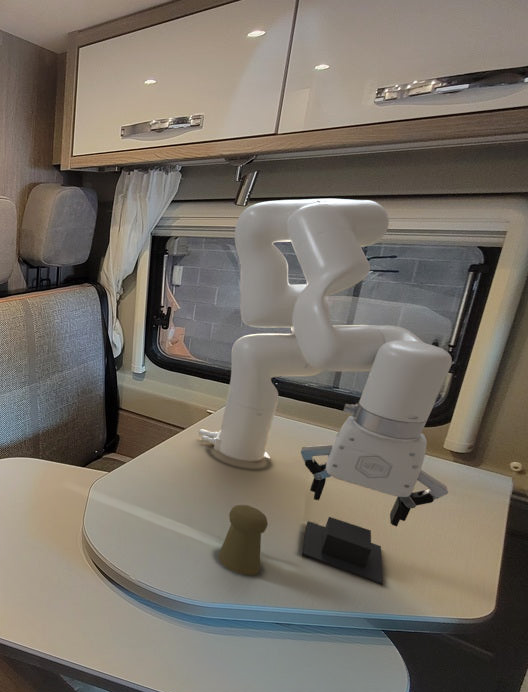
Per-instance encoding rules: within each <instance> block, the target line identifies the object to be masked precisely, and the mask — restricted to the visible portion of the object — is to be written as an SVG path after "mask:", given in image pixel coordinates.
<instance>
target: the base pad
mask: <svg viewBox="0 0 528 692" xmlns="http://www.w3.org/2000/svg"><path fill="white" fill-rule="evenodd" d="M324 529H325V526H324V525H320V524H318V523H314V522H312V521H309V520H308V521H307V522H306V525H305V532H304V539H303V546H302V553H301V556H302V557H304V558H306V559H309V560H311V561H314V562H318V563H320V564H322V565H325V566H328V567H330V568H333V569H337V570H339V571H342V572H344V573H346V574H347V573H348V574H350V575H353V576H355V577H357V578H358V577H359V578H361V579H363V580H367V581H369V582H372V583H374V584H377V585H380V586H382V585H383V566H382V565H383V563H382V546H381V545H379V544H376V543H373V542H371V552H370V555H369V557H368V560H367V562H366V565H365V567H364V568H362V567H360V566H357V565H354V564H351V563H349V562H346V561H343V560H341V559H338V558H335V557H333V556H330V555H327V554H325V553H322V552H321V549H322V539H323V532H324Z"/></svg>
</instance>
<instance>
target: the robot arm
mask: <svg viewBox="0 0 528 692" xmlns="http://www.w3.org/2000/svg"><path fill="white" fill-rule="evenodd" d="M389 222H390V220H389V214H388V212H387V211H386V208H385V207H384V206H383V205H382V204H380V203H378V202H376V201H374V200H371V199H349V198H347V199H346V198H308V199H307V198H306V199H305V198H303V199H280V200H268V201H262V202H258V203H254V204H252V205H250V206H247V207H246V208H245V209H244V210H242V212H241V213H240V214H239V216H238V219H237V221H236V224H235V228H234V244H235V249H236V253H237V257H238V260H239V266H240V287H239V289H240V292H239V300H240V301H239V308H240V309H239V310H240V312H239V313H240V319H241V321H242V322H243V324H245V325H246V326H249V327H252V328H260V329H261V328H264V329H265V328H267V329H268V328H269V329H270V328H271V329H274V328H281V329H283V328H286V329H287V328H289V329H291V333H254V334H248V335H243V336H242V337H240V338H238V339H237V340H235V342H233V345H232V347H231V357H230V358H231V359H230V360H231V371H230V381H229V385H228V392H227V398H226V402H225V406H224V407H225V408H224V410H223V411H224V412H223V416H222V421H221V425H220V430H219V431H213V432H212V431H210V430H207V429H202V428H200V429H199V430H198V436H197V437H201V442H205V443H209V444H211V445H213V450H214V451H218V452H219V453H221V454H222V455H224V456H227V457H229V458H231V459H235V460H238V461H241V462H242V461H243V462H250V463H254V462H260V461H262V460H263V459H264V458H268V459H271V456H270V455H269V453H268V452H267V451H266V450H267V446H268V442H269V437H270V433H271V429H272V426H273V421H274V419H275V414H276V410H277V406H278V402H279V391H278V389H277V388H276V386H275V385H274V383H273V382H272V378H279V377H280V378H281V377H312V376H313V377H314V376H316V375H319V374H321V373H322V372H323V371H324V372H364V373H369V374H368V377H367V380H366V383H365V386H364V388H363V391H362V393H361V396H360V399H359V400H358V402H355V404H349V403H345V404H344V407H343V413H347V414H349V415H350V416H348V417H347V419H346V420H345V421H344V423H343V424H342V426H341V427H340V429H339V431H337V432H338V433H337V434H336V436H335V438H334V441H333V442H332V444H328V445H327V444H326V445H325V444H324V445H311V446H302V447H301V448H300V455H301V458H302V460H303V462H304V465H305V468H307V470H308V471H309V472H310V473H311V474H312V476H313V480H312V483H311V485H310V492H313V494H314V495H313V500H314V501H320V499H321V496H322V494H323V491H324V488H325V485H326V481H327V480H326V479H327V478H330V477H332V478H334V479H336V480H339V481H342V482H346V483H349V484H352V485H354V486H355V485H356V486H359V487H362V488H365V489H369V490H371V491H376V492H378V493H382V494H386V495H389V496H394V497H396V499H395V501H394V504H393V506H392V508H391V510H390V513H389V519H390V520H389V521H390V524H391V526H393V527H398V525H399V523H400V521H403V522H406V520H407V517H408V515H409V513H410V511H411V509H415V508H416V507H417V506H422V505H427V504H431V503H433V502H434V501H435V500H438V499H439V498H442V497H444V496H446V495H448V493H449V491H448V487H447V486H446V485H445V484H444V483H442V482H441V481H439V480H438V479H436V478H435V477H433V476H431V475H430V474H428V473H427V472H425V471H423V470H422V467H423V463H424V460H425V456H426V451H427V445H428V441H427V438H426V435H425V434H424V433H423V430H424V428H425V426H426V424H427V422H428V419H429V417H430V414H431V413H432V410H433V408H434V406H435V403H436V401H437V399H438V397H439V394H440V392H441V389H442V387H443V385H444V383H445V380H446V379H447V375H448V374H449V372H450V369H451V366H452V365H453V364H452V363H453V360H452V356H451V354H450V353H449V352H448V351H447V350H445V349H444V348H442V347H439V346H436V345H434V344H430V343H426V342H424V341H423V340H421V338H420V337H418V336H417V335H415V333H414V332H412V331H410V330H409V329H407V328H404V327H402V326H397V325H391V324H388V325H387V324H373V325H371V324H370V325H368V324H347V325H346V324H340V325H339V324H338V325H337V324H336V325H334V324H332V322H331V306H330V301H329V298H328V297H329V296H332V295H334V294H338V293H340V292H342V291H345V290H348V289H350V288H352V287H354V286H355V285H357V284H359V283H360V282H362V281H363V280H364V279H366V277H368V275H369V273H370V272H371V271H370V270H371V264H370V262H369V260H368V258H367V256H366V254H365V252H364V250H363V247H370V246H373V245H374V244H377V243H378V242H380V241H381V240H382V239H383V238H384V236H385V235H386V234H387V231H388V229H389V225H390V224H389ZM277 242H278V243H279V242H280V243H281V242H282V243H283V242H284V243H285V242H287V243H289V242H291V244H292V248H293V251H294V253H295V255H296V258H297V261H298V264H299V266H300V268H301V271H302V273H303V276H304V279H305V281H306V283H305V284H301V283H300V284H290V283H289V263H288V261H287V259H286V257H285V255H284V254H283V253H282V251H281V250H280V249H279V248H278V247H277V246H276V245H275V243H277ZM319 456H327V459H326V460H327V461H326V462H324V463H321V464H319V463H318V462H317V461H316V460H315V458H314V457H319ZM417 481H418V482H419V483H421V484H422V485H424V486H425V487H426V488H427V489H425V490H424V489H423V490H420V491H415V492H414V489H415V487H416V484H417Z"/></svg>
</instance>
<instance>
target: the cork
mask: <svg viewBox="0 0 528 692" xmlns="http://www.w3.org/2000/svg"><path fill="white" fill-rule="evenodd" d="M228 519H229V522H230V526H229V528H228V531H227V533H226V536H225V538H224V541H223V542H222V545H221V548H220V550H219V552H218V554H217V555H218V560H219V561H220V563H221V564H222V565H223V566H224V567H226V568H227V569H229V570H230V571H232V572H234V573H236V574H239V575H240V574H241V575H244V576H256V575H257V574H259V572H260V569H261V568H260V567H261V546H262V545H261V544H262V534H263V533H265V531H266V530H267V528H268V524H269V523H268V518H267V516H266V515H265V514H264V512H263V511H261V510H260V509H258V508H256V507H254V506H251V505H248V504H238V505H234V506H232V507H231V509H230V510H229V514H228Z"/></svg>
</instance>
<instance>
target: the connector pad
mask: <svg viewBox="0 0 528 692" xmlns="http://www.w3.org/2000/svg"><path fill="white" fill-rule="evenodd" d="M324 527H325V529H324V532H323V539H322V549H321V552H322V553H325V554H327V555H330V556H333V557H335V558H338V559H341V560H343V561H346V562H349V563H351V564H354V565H357V566H360V567H362V568H364V567H365V565H366V562H367V560H368V557H369V555H370V552H371V543H372V530H371V529H368V528H365V527H362V526H359V525H356V524H353V523H350V522H347V521H344V520H341V519H338V518H334V517H332V516H328V517H327V521H326V523H325V526H324Z"/></svg>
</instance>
